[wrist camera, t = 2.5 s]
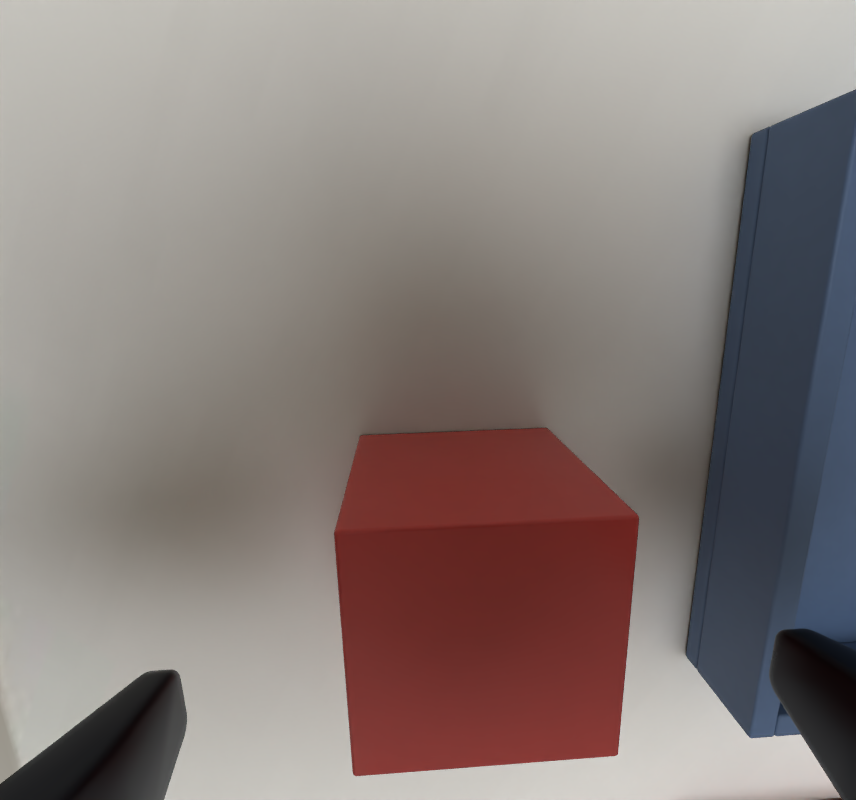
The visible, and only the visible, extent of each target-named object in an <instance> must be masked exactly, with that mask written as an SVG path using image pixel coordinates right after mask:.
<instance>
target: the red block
mask: <svg viewBox="0 0 856 800" xmlns="http://www.w3.org/2000/svg"><path fill="white" fill-rule="evenodd" d="M638 526H639V517H638V515H637V514H636V513H635V512H634V511H633V510H632V509H631V508H630V507H629V506H628V505H627V504H626V503H625V502H624V501H623V500H622V499H621V498H620V497H619V496H617V495H616V494H615V493H614V492H613V491H612V490H611V489H610V488H609V487H608V486H607V485H606V484H605V483H604V482H603V481H602V480H601V479H600V478H599V477H598V476H597V475H596V474H595V473H593V472H592V471H591V470H590V469H589V468H588V467H587V466H586V465H585V464H584V463H583V462H582V461H581V460H580V459H579V458H578V457H577V456H576V455H575V454H574V453H573V452H572V451H571V450H570V449H568V448H567V447H566V446H565V445H564V444H563V443H562V442H561V441H560V440H559V439H558V438H557V437H556V436H555V435H554V434H553V433H552V432H551V431H550V430H549V429H548V428H530V429H506V430H481V431H456V432H432V433H407V434H382V435H361V436H360V437H359V441H358V445H357V448H356V452H355V456H354V460H353V464H352V467H351V471H350V475H349V479H348V482H347V486H346V490H345V494H344V498H343V501H342V505H341V509H340V513H339V516H338V520H337V524H336V528H335V532H334V539H335V552H336V565H337V577H338V590H339V603H340V616H341V628H342V641H343V654H344V667H345V679H346V692H347V705H348V717H349V730H350V743H351V756H352V768H353V774H354V775H355V776H364V775H377V774H390V773H403V772H415V771H428V770H441V769H454V768H467V767H479V766H492V765H505V764H518V763H531V762H544V761H556V760H569V759H582V758H595V757H608V756H616V755H617V754H618V746H619V735H620V724H621V713H622V702H623V691H624V680H625V669H626V658H627V647H628V636H629V625H630V614H631V603H632V592H633V581H634V570H635V559H636V548H637V537H638Z"/></svg>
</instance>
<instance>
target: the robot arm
mask: <svg viewBox="0 0 856 800" xmlns="http://www.w3.org/2000/svg"><path fill="white" fill-rule="evenodd" d="M769 679H770V683H771V686H772V688H773V690H774V692H775V694H776V696H777V697H778V699H779V700H780V702H781V704H782V705H783V707H784V708H785V710H786V711H787V713H788V715H789V716H790V718H791V719H792V721H793V722H794V724H795V726H796V727H797V729H798V730H799V732H800V734H801V735H802V737H803V738H804V740H805V741H806V743H807V745H808V746H809V748H810V749H811V751H812V752H813V754H814V756H815V757H816V759H817V760H818V762H819V763H820V765H821V767H822V768H823V770H824V771H825V773H826V774H827V776H828V778H829V779H830V781H831V782H832V784H833V786H834V787H835V789H836V790H837V792H838V793H839V795H840V796H841V798H842V799H843V800H856V650H855V649H852V648H850V647H848V646H846V645H844V644H841V643H839V642H837V641H835V640H833V639H830V638H828V637H826V636H824V635H822V634H819V633H817V632H815V631H813V630H810V629H805V628H800V629H785V630H781V631H779V632H778V634H777V635H776V637H775V642H774V647H773V653H772V658H771V664H770V669H769ZM186 725H187V712H186V707H185V701H184V695H183V690H182V684H181V679H180V675H179V673H178V672H177V671H175V670H158V671H149V672H146V673H144V674H143V675H141V676H140V677H138V678H137V679H136V680H134V681H133V682H132V683H131V684H129V685H128V686H127V687H125V688H124V689H123V690H122V691H120V692H119V693H118V694H116V695H115V696H114V697H112V698H111V699H110V700H109V701H107V702H106V703H105V704H103V705H102V706H101V707H99V708H98V709H97V710H96V711H94V712H93V713H92V714H90V715H89V716H88V717H87V718H85V719H84V720H83V721H81V722H80V723H79V724H77V725H76V726H75V727H74V728H72V729H71V730H70V731H68V732H67V733H66V734H64V735H63V736H62V737H61V738H59V739H58V740H57V741H55V742H54V743H53V744H52V745H50V746H49V747H48V748H46V749H45V750H44V751H42V752H41V753H40V754H39V755H37V756H36V757H35V758H33V759H32V760H31V761H29V762H28V763H27V764H26V765H24V766H23V767H22V768H20V769H19V770H18V771H16V772H15V773H14V774H13V775H11V776H10V777H9V778H7V779H6V780H5V781H4V782H2V783H1V784H0V800H164V798H165V795H166V792H167V788H168V785H169V782H170V779H171V776H172V773H173V770H174V767H175V763H176V760H177V757H178V754H179V751H180V748H181V745H182V742H183V738H184V735H185V731H186Z"/></svg>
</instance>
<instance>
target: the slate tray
mask: <svg viewBox="0 0 856 800" xmlns="http://www.w3.org/2000/svg"><path fill="white" fill-rule="evenodd" d="M800 628H805V629H810V630H813V631H815V632H817V633H819V634H822V635H824V636H826V637H828V638H830V639H833V640H835V641H837V642H839V643H841V644H844V645H846V646H848V647H850V648H852V649H855V650H856V90H853V91H851V92H849V93H846V94H844V95H842V96H839V97H837V98H835V99H832V100H830V101H828V102H825V103H823V104H821V105H819V106H816V107H814V108H812V109H809V110H807V111H805V112H802V113H800V114H798V115H795V116H793V117H791V118H788V119H786V120H784V121H781V122H779V123H777V124H775V125H772V126H771V127H767V128H765V129H763V130H760V131H758V132H756V133H754V134H753V135H752V138H751V145H750V153H749V161H748V169H747V177H746V185H745V193H744V201H743V209H742V217H741V225H740V232H739V240H738V248H737V256H736V264H735V272H734V280H733V288H732V296H731V304H730V312H729V319H728V327H727V335H726V343H725V351H724V359H723V367H722V375H721V383H720V391H719V399H718V406H717V414H716V422H715V430H714V438H713V446H712V454H711V462H710V470H709V478H708V486H707V493H706V501H705V509H704V517H703V525H702V533H701V541H700V549H699V557H698V565H697V573H696V580H695V588H694V596H693V604H692V612H691V620H690V628H689V636H688V644H687V652H686V656H687V658H688V659H689V660H690V662H691V663H692V664H693V665H694V667H695V668H697V670H698V672H699V673H700V674H701V676H702V677H703V678H704V680H705V681H706V682H707V683H708V685H709V686H710V687H711V689H712V690H713V691H714V693H715V694H716V695H717V696H718V698H719V699H720V700H721V702H722V703H723V704H724V705H725V707H726V708H727V709H728V711H729V712H730V713H731V714H732V716H733V717H734V718H735V720H736V721H737V722H738V723H739V725H740V726H741V727H742V729H743V730H744V731H745V732H746V734H747V735H748V736H749V737H750V738H760V737H772V736H773V735H776V736H784V735H797V734H800V732H799V730H798V729H797V727H796V726H795V724H794V722H793V721H792V719H791V718H790V716H789V715H788V713H787V711H786V710H785V708H784V707H783V705H782V704H781V702H780V700H779V699H778V697H777V696H776V694H775V692H774V690H773V688H772V686H771V683H770V679H769V669H770V664H771V658H772V653H773V647H774V642H775V637H776V635H777V634H778V632H779V631H781V630H785V629H800Z"/></svg>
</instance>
